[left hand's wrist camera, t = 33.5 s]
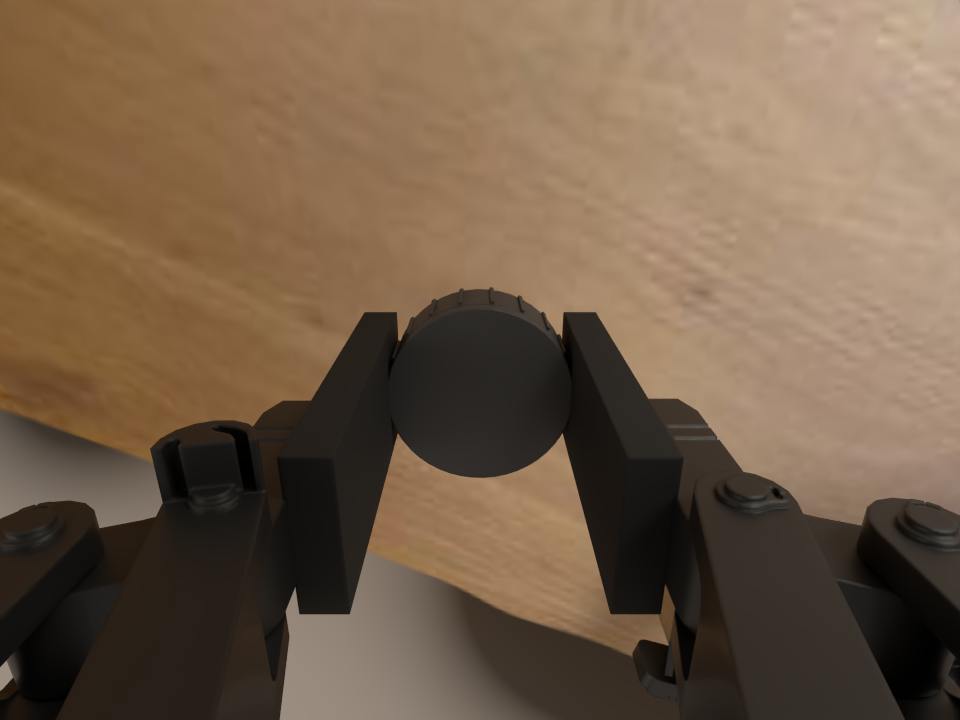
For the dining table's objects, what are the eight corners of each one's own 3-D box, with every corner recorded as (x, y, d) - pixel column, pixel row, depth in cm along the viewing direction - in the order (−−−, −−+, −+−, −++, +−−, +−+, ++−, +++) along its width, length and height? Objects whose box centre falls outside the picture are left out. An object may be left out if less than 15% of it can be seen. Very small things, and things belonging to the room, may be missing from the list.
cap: (565, 442, 15) (574, 477, 14) (402, 448, 15) (393, 483, 14) (567, 282, 13) (578, 302, 12) (385, 290, 14) (374, 310, 12)
